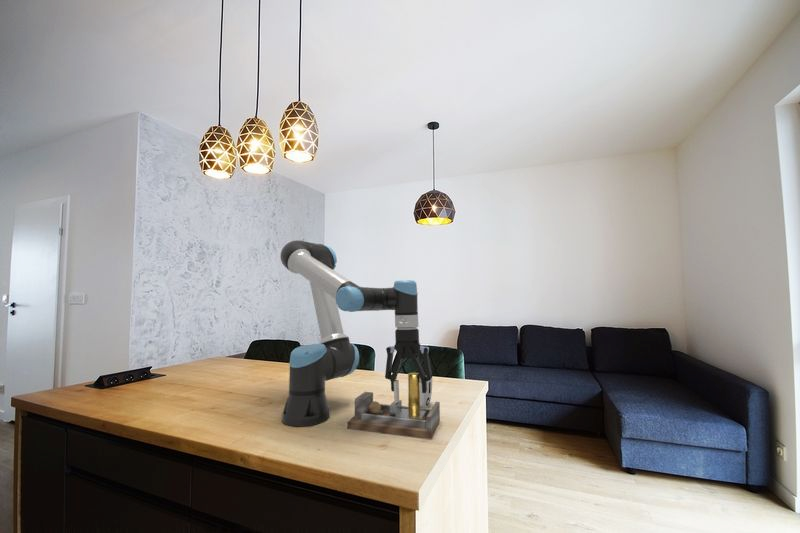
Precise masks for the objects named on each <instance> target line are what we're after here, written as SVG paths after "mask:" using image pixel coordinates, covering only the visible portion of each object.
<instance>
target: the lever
mask: <svg viewBox="0 0 800 533" xmlns="http://www.w3.org/2000/svg"><path fill="white" fill-rule="evenodd" d="M407 376H408V378H407V379H408V383H407V384H408V385H407V387H408V388H407V389H408V390H407V393H408V395H407V397H408V403H407V404H408V406H407V407H408V409H404V408H402V406H403V404H402V403H403V402H402V401H403V400H402V399H399V402H398V403H394V401H392V402H391V404H389V405H390V416H391V417H400V418H409V419H418V420H424V419H425V418H426V411H423V410H420V394H419V382H420V376H419V374H418V372H409V373H408V375H407Z"/></svg>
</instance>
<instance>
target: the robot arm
mask: <svg viewBox="0 0 800 533" xmlns="http://www.w3.org/2000/svg"><path fill="white" fill-rule="evenodd" d="M279 257H280V262H281V264H282V265H283V266H284V268H286V269H287V270H288V271H290V272H291V273H293V274H296V275H297V274H299V275H300V276H302V277H303V278H304V279H306V280H307V281H308V282H309V286H310V289H311V294H312V300H313V304H314V309H315V315H316V320H317V324H318V329H319V335H320V341H319V342H318V343H311V344H305V345H301V346H298V347H296V348H294V349H293V350H292V351H291V352H290V356H289V357H290V358H289V362H288V365H289V374H288V375H289V378H288V379H289V380H288V382H289V384H288V397H287V399H286V402H285V406H284V408H283V411H282V415H281V417H282V418H281V421H282V422H281V423H283V424H284V425H285V426H286V425H287V426H290V427H309V426H313V425H317V424H318V425H319V424H320V423H321V424H322V423H323V422H325V421H327V420H328V419H330V414H331V413H330V412H331V410H330V406H329V402H328V398H327V396H326V382H328V381H330V380H334V379H339V378H344V377H346V376H348V375H351V374H353V373H354V372H355V371H356V369H357V367H358V366H359V362H360V353H359V350H358V347H357V346H356V345H355V344H354V343H351V341H350V339H349V338H350V337H349V336H348V335H346V334H345V333H344V328H343V325H342V321H341V315H340V311H339V309H340V310H341V311H343V312H348V313H349V312H350V313H353V312H368V311H369V312H370V311H372V312H374V311H376V312H378V311H379V312H380V311H394V326H395V328H396V329H395V332H394V334H395V335H394V336H395V343H394V345H393V346H387V347H386V349H385V351H386V354H387V355H386V356H387V357H386V366H385V373H384V374H385V375H384V378H385V379H386V380H389V381H390V390H391V392H393V400H394V401H393V402H394V403H398V402H399V400H400V384H399V383H400V380H399V379H398V374H399V372H400V369H401V365H402V362H403V360H405V359H409V360H412V362H413V364H414V367H415V370H416V371H417V372H416V373H418V374H419V376H420V379H421V381H420V382H419V394H420V405H423V403H424V393H426V392H427V381H430V380H431V379H432V380H433V372H432V367H431V361H430V356H429V352H430V347H429V346H421V344H420V334H419V333H420V331H419V328H418V327H419V312H418V311H419V310H418V309H419V308H418V307H419V306H418V305H419V304H418V286H417V282H416V281H415V280H411V279H402V280H395V281H394V283H393V287H368V286H367V287H365V286H359V285H358V284H356V283H354V282H352V281H351V280H349V279H348V278H346V277H345V276H343V275H342V274H340V273H339V272H337V271H335V268H336V267H337V265H336V264H337V261H338V260H337V255H336V251H334V249H333V248H332V247H331V246H328V245H325V244H323V243H313V242H310V241H304V240H301V239H299V240H298V239H297V240H292V241H289V242H288V243H286V244H285V245H283V247H282V249H281V251H280V256H279ZM395 352H396V353H397V354H398V355H397V357H396V358H397V359H396V362H395V365H394V367H393V361H394V360H393V358H394V353H395ZM419 352H421V354H422V359H423V364H424V368H423V365H422V363H421V361H420V358H419V355H418V353H419ZM424 369H425V370H424ZM392 370H393V371H392Z"/></svg>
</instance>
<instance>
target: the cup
mask: <svg viewBox="0 0 800 533" xmlns="http://www.w3.org/2000/svg"><path fill="white" fill-rule="evenodd" d="M420 381H421V379H420ZM432 391H433V378H432V379H431V380H430V381H427V392H426V393H424V403H423V405H420V408H426V409H428V408H429V406H430V403H431V400H432Z"/></svg>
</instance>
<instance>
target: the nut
mask: <svg viewBox="0 0 800 533" xmlns="http://www.w3.org/2000/svg"><path fill="white" fill-rule="evenodd" d="M380 404H381V403H380V402H378V401H374V400H373V402H372V403H370V405H369V412H370V413H371V414H373V415H377V414H378V413H379V412H380V411H381V405H380Z"/></svg>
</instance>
